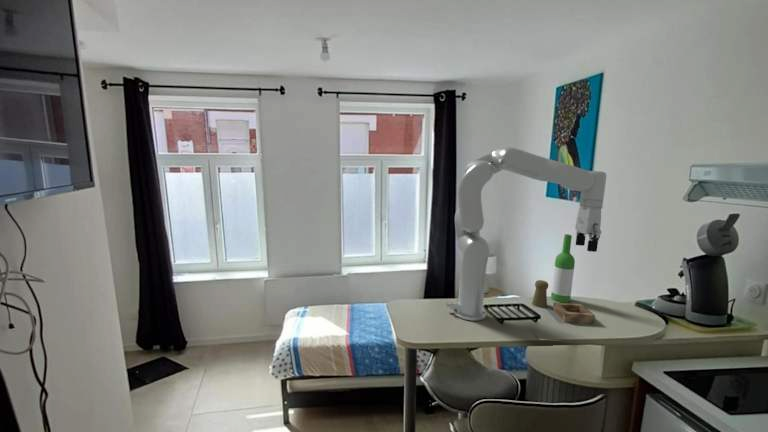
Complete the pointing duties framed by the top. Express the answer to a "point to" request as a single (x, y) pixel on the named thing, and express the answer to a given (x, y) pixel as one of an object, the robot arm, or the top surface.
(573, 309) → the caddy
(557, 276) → the wine bottle
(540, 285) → the cork
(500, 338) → the top surface
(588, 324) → the mat
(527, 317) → the top surface
